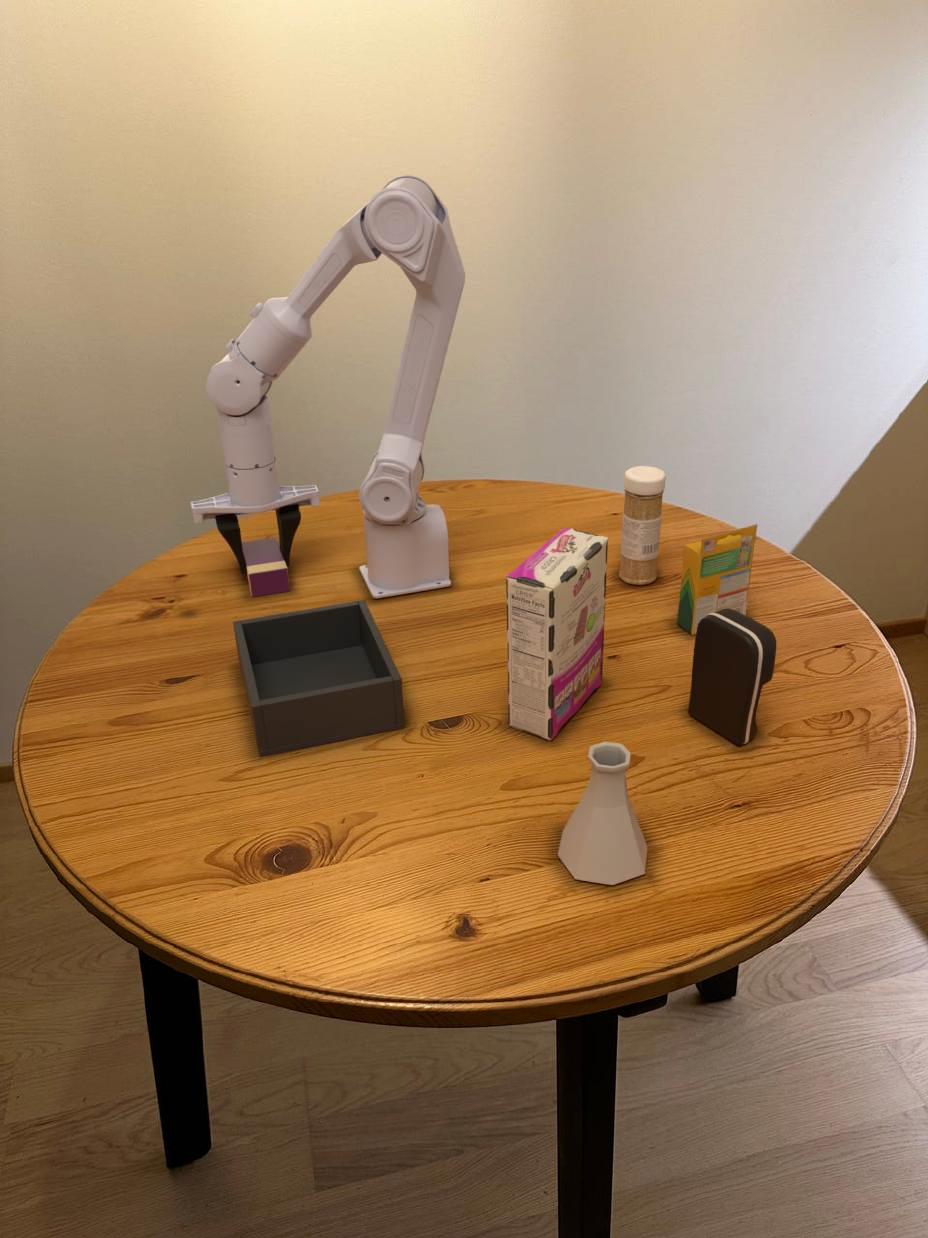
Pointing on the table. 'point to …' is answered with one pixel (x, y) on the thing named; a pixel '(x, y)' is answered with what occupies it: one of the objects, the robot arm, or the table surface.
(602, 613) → the candy bar box
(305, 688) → the open storage bin
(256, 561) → the chocolate bar
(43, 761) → the table surface
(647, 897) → the table surface
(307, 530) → the table surface
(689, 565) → the crayon box
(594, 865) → the flask
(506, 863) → the table surface
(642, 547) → the spice jar
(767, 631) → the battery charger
